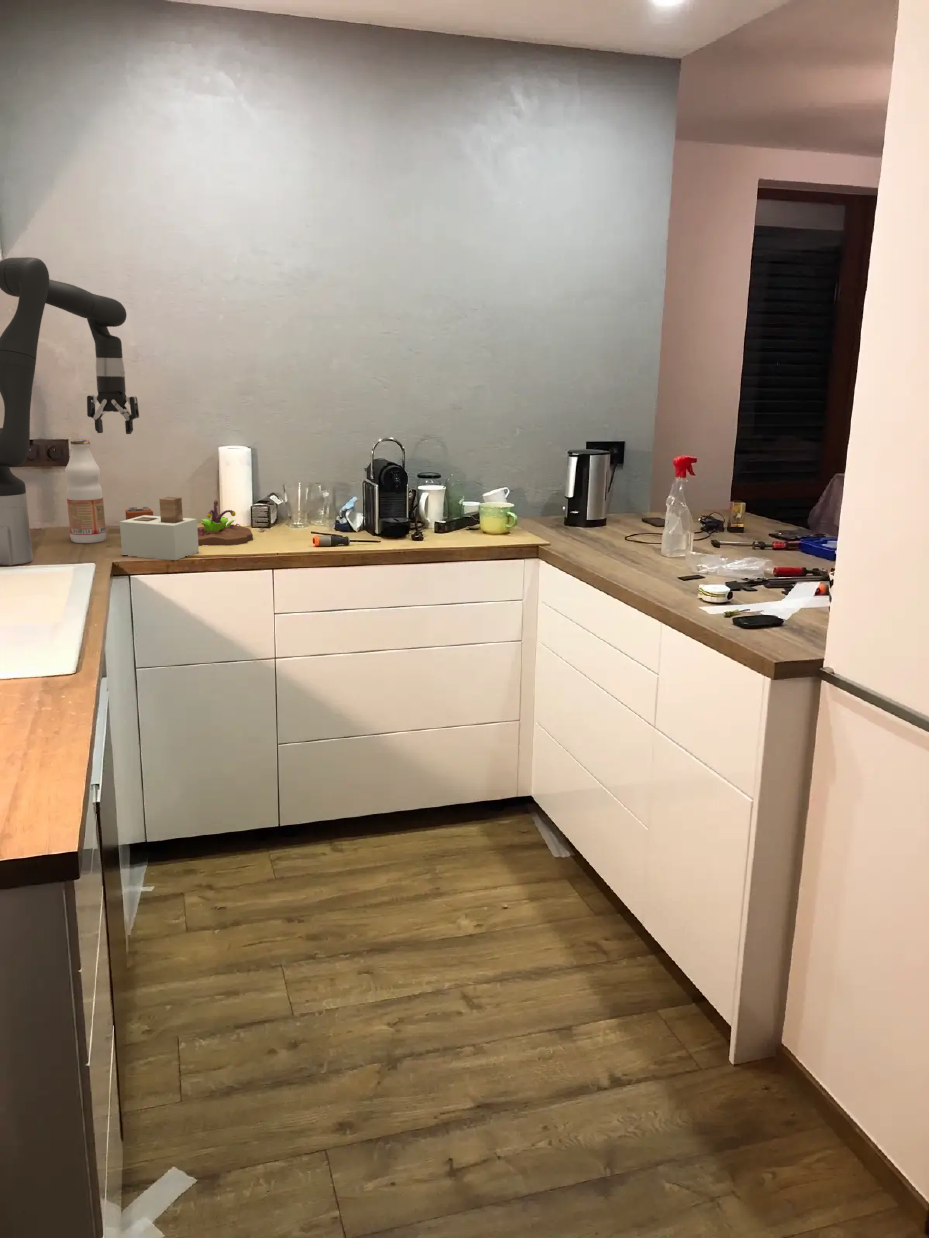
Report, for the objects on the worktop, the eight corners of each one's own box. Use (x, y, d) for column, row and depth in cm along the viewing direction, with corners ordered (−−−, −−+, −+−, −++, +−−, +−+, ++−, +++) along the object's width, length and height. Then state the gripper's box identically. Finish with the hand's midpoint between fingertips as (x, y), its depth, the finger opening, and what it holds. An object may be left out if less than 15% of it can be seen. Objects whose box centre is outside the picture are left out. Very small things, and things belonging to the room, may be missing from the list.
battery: (127, 542, 277) (124, 506, 274) (152, 540, 280) (149, 505, 277) (130, 544, 273) (127, 508, 271) (155, 542, 276) (153, 507, 274)
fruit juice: (77, 545, 272) (68, 442, 264) (66, 539, 279) (56, 439, 271) (111, 541, 277) (103, 440, 270) (99, 536, 284) (91, 437, 277)
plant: (256, 533, 294) (254, 496, 291) (250, 546, 275) (248, 506, 272) (187, 534, 291) (184, 496, 288) (176, 547, 273) (173, 506, 270)
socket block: (175, 560, 254) (173, 525, 252) (122, 555, 259) (119, 521, 256) (198, 552, 265) (196, 518, 262) (146, 548, 269) (144, 515, 267)
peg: (175, 534, 257) (172, 499, 254) (161, 533, 258) (159, 499, 255) (183, 531, 260) (181, 497, 258) (170, 530, 261) (168, 496, 259)
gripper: (79, 374, 274) (84, 433, 278) (128, 375, 273) (132, 435, 277) (92, 374, 281) (96, 432, 286) (140, 375, 280) (144, 433, 284)
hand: (114, 433), depth 281 cm, fingers open, 8 cm apart
